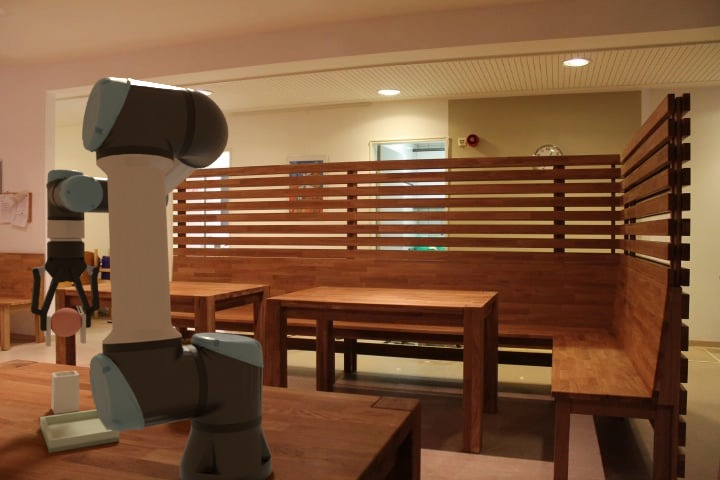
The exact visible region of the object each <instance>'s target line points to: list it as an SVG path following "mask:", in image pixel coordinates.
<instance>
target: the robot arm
mask: <svg viewBox="0 0 720 480" xmlns="http://www.w3.org/2000/svg"><path fill="white" fill-rule="evenodd" d="M87 99H88V100H87V102H86V105H85V110H84V113H83V114H84V115H83V121H82V130H81V138H82V139H81V140H82V145H83V148H84V149H85V150H86V151H89V152H90V153H94V152H95V160H96V164H95V165H96V167H98V168H99V169H100V170H101V171H102V172H103V173H104V174H105V175H106V177H97V176H95V177H94V176H90V175H86V174H84V173H83V172H82V171H79V170H76V169H75V170H74V169H52V170H50V171H48V173H47V183H46V192H47V193H46V200H47V201H46V202H47V204H46V205H47V209H46V210H47V211H46V212H47V213H46V215H47V218H46V220H47V222H46V224H47V225H46V228H47V230H46V238H47V239H49V241H47V242H46V261H45V264H44V265H42V266H38V267H32V268H31V275H32V277H33V281H32V291H31V292H32V293H31V302H30V312H31V314H34V315H37V316H39V329H40V331H41V332H45V347H46V348H47V347H51V346H52V330H51V317H52V315H49V314H48V313H49V310H50V307H51V304H52V301H53V300H54V296H55V294H56V291H57V288H58V286H59V285H60V283H65V282H67V283H68V282H69V283H73V285H74V288H75V291H76V293H77V296H78V299H79V301H80V304H81V306H82V309H83V312H82V313H81V312H80V313H79V314H80V316H81V319H82V324H81V327H80V329H79V330H80V331H79V332H80V333H79V335H80V337H79V338H80V340H79V342H80V344H83V345H84V344H86V343H87V329H88V328H89V329H90V328H91V326H92V314H93V312H95V311H99V310H100V309H101V307H100V306H101V305H100V296H99V295H100V293H99V282H98V281H99V280H98V276H99V272H100V267H99V266H95V265H94V266H93V265H89V264H88V263H87V262H86V259H85V257H86V256H85V252H86V251H85V250H86V249H85V246H86V245H85V242H84V241H83V239H85V235H86V234H85V232H86V231H85V225H86V224H85V213H92V214H93V213H94V214H95V213H97V214H98V213H99V214H108V231H109V234H108V235H109V236H108V237H109V261H110V262H109V263H110V264H109V265H110V292H111V294H110V295H111V319H112V320H111V322H112V323H111V324H112V326H111V327H112V328H111V331H110V333H108V334H107V336H106V337H105V338H104V339H103V340H102V341H101V342H102V343H101V344H102V345H101V347H102V352H101V353H100V352H99V353H97V354H96V355H94V356H93V357H91V360H90V361H89V362H90V363H89V369H90V370H89V383H90V385H89V386H90V390H91V395H92V399H93V404H94V407H95V409H96V410H97V412H98V414H99V417H100V419H101V420H102V422H103V424H104V425H105V426H106V427H107V428H109V429H110V430H112V431H117V432H119V433H120V432H125V431H133V430H138V431H142V430H144V429H145V428H149V427H156V426H161V425H165V424H171V423H176V422H182V421H183V422H184V421H187V420H188V421H189V420H191V423H190V431H189V434H188V436H187V440H186V444H185V446H184V450H183V452H182V456H181V458H180V462H179V480H267V479H268V478H269V477H271V474H272V473H273V456H272V453H271V449H270V446H269V444H268V443H269V442H268V441H267V437H266V433H265V430H264V428H263V392H264V391H263V387H264V386H263V385H264V384H263V383H264V382H263V381H264V380H263V379H264V374H263V373H264V370H263V369H264V368H265V365H264V354H263V346H262V345H261V343H260V341H258V340H257V339H255V338H253V337H249V336H245V335H239V334H231V333H221V332H199V333H195V334H193V335H192V336H191V338H190V339H191V343H192V344H191V345H184V346H182V339H183V336H182V335H183V334H182V333H181V332H179V331H178V330H177V329H176V328H175V327H174V326H173V325H172V311H171V309H172V308H171V288H170V287H171V285H170V265H169V263H170V262H169V241H168V240H169V239H168V217H167V207H168V205H169V194H170V193H171V192H173V191H174V190H175V189H176V188H177V187H178V186H179V185H181V184H182V183H184V181H185V180H186V179H188V178H189V177H190V176H191V175H192V174H193V173H195V171H197V170H199V169H206V168H208V167H210V166H211V165H213V163H214V162H216V161H217V160H218V159H219V158H220V157H221V156H222V154H223V153H224V152H225V149H226V147H227V145H228V140H229V125H228V123H227V119H226V117H225V115H224V112H223V111H222V109H221V107H219V105H218V104H217V103H216V102H215V101H214V100H213V99H212V98H211V97H209V96H208V95H206V94H205V93H203V92H201V91H198V90H196V89H191V88H186V87H178V86H172V85H166V84H160V83H153V82H150V81H149V82H148V81H141V80H136V79H132V78H129V77H127V78H119V77H113V76H112V77H110V76H105V77H102V78H100V79H98V80H97V81H96V82H95V83H94V85H93V87H92V89H91V91H90V93H89V96H88V98H87ZM45 271H46V272H47V274H48V275H49V276H50V277H51V280H50V282H49V287H48V290H47V292H46V295H45V298H44V300H43V303H42V306H41V308H39V304H40V293H41V284H42V283H41V281H42V279H41V278H42V277H44V274H45ZM85 271H86V272H87V275H89V284H90V294H91V297H90V298H91V305H90V303H89V300H88V297H87V294H86V291H85V290H84V286H83V283H82V280H81V276H82V275H83V274H84V272H85Z"/></svg>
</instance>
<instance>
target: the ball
mask: <svg viewBox="0 0 720 480" xmlns="http://www.w3.org/2000/svg"><path fill="white" fill-rule="evenodd" d="M81 324H82V319H81V316H80V313H79V312H78V311H77V310H76V309H74V308H71V307H62V308H60V309H58V310H56V311H54V313H53V314H52V315H51V332H52V333H54V335H56V336H59V337H61V338H62V337H63V338H69V337H71V336H74V335H76V334H77V332H78V333H79V332H80V331H79V330H80V327H81Z"/></svg>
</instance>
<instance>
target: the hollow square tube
mask: <svg viewBox="0 0 720 480" xmlns="http://www.w3.org/2000/svg"><path fill="white" fill-rule="evenodd" d="M50 396H51V397H50V399H51V400H50V401H51V404H50V405H51V406H50V407H51V411H52V412H53V415H59V414H66V413H73V412H80V374H79V372H78V371H77V370H65V371H57V372H55V371H54V372H51V395H50Z"/></svg>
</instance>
